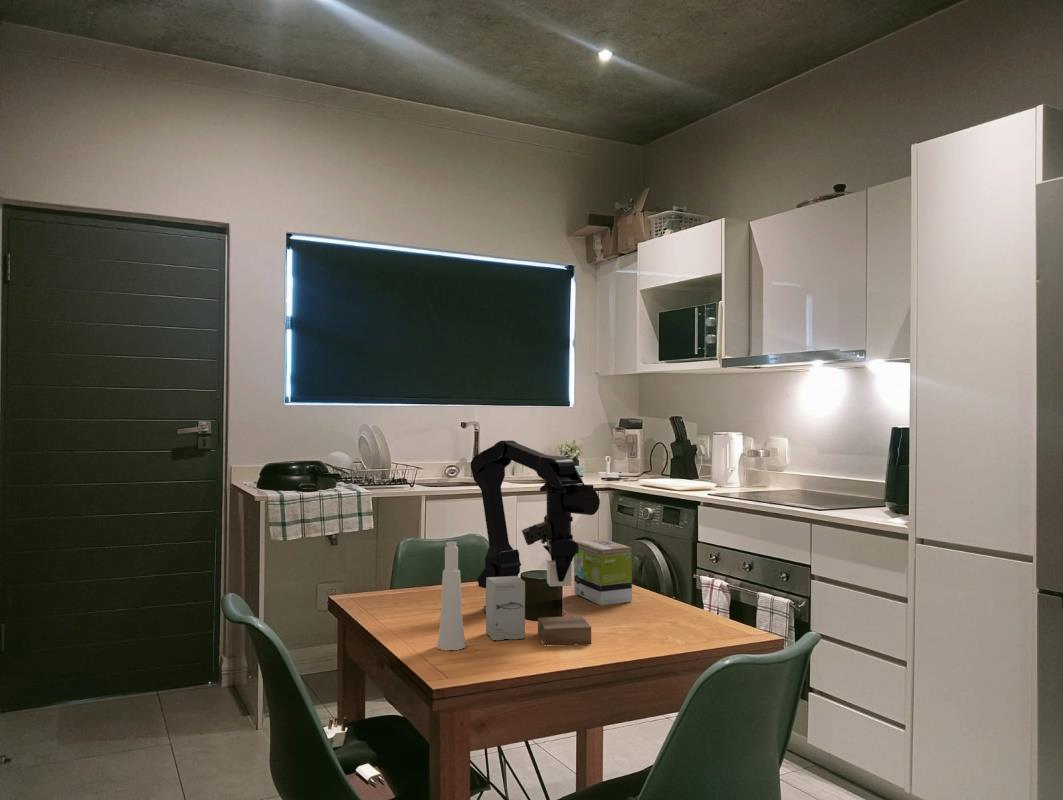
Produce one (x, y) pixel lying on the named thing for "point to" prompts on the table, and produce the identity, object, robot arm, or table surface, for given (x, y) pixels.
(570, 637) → the walnut block
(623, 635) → the table surface
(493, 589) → the supplement box
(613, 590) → the tea box
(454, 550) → the cosmetic bottle
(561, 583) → the ceramic cube
